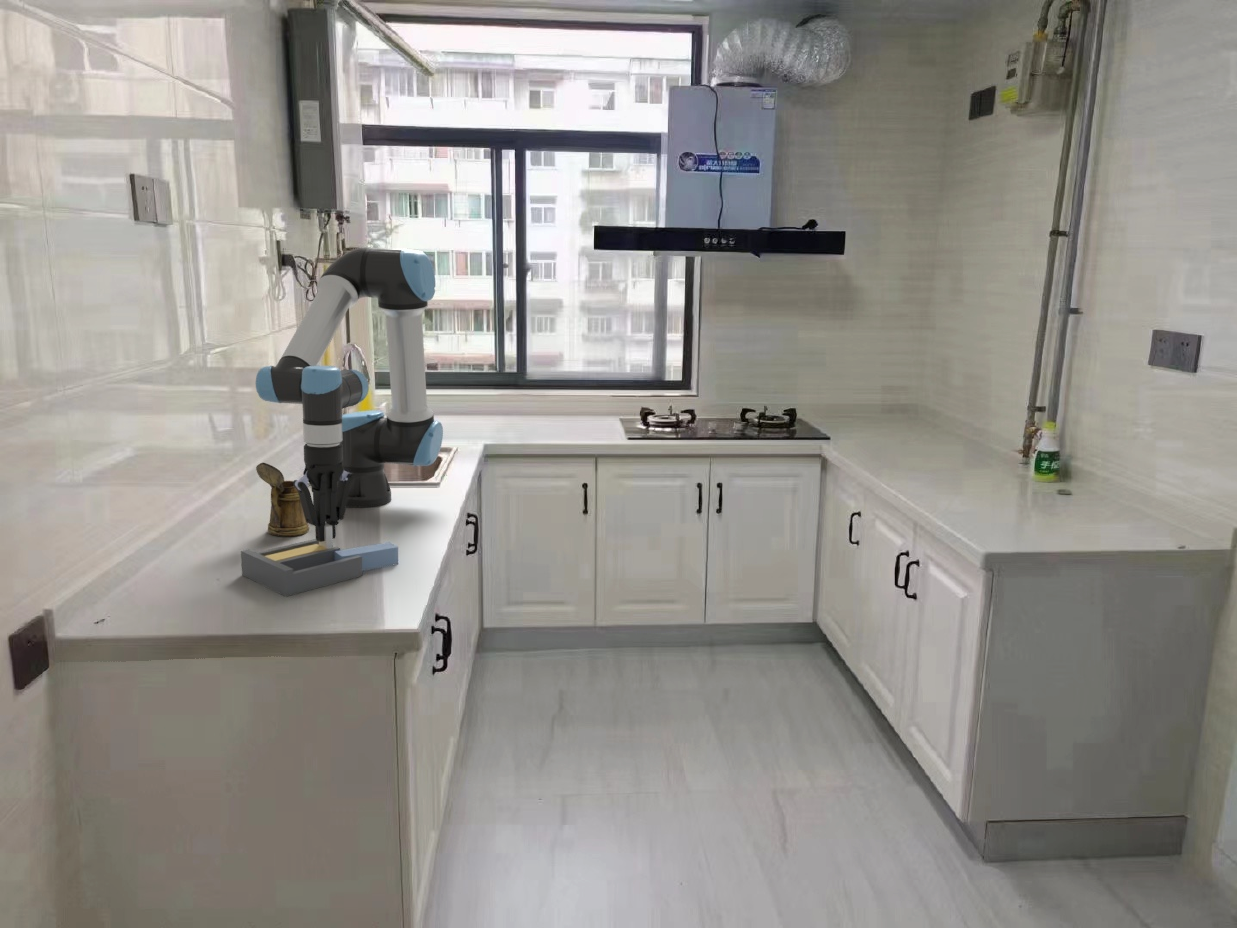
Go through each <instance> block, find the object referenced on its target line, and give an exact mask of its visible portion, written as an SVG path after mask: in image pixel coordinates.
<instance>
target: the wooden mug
mask: <svg viewBox="0 0 1237 928" xmlns="http://www.w3.org/2000/svg"><path fill="white" fill-rule="evenodd" d="M255 468H256V469H255V471H256V473H257V475H258V476H259V478H260V479H261V480H262V481H263V482H265V483H266V484H268V485H269V486H270V487H271V489H270V504H271V506H270V514H269V515H270V516H269V523H268V524H267V533H268V534H269V535H271V536H275V537H285V538H287V537H297V536H302V535H305V534H306V533H309V532H308V531H309V530H310V527H309V525H310V524H309V523H307V522H306V520H305V516H304V512H303V509H302V505H301V501H300V498H299V494H298V491H297V489H296V488H295V487H294V485H293V481H294V480H285V477H284V475H283V473H282V471H281V470H279V469H278V468H276V467H275V466H273V465H271V464H269V463H266V462H261V463H259V464H258V465H256V467H255Z"/></svg>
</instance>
